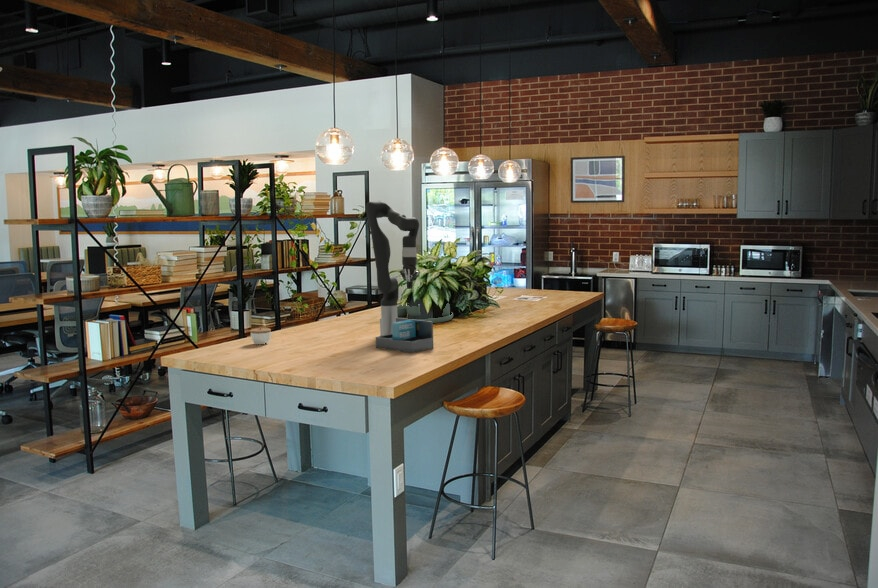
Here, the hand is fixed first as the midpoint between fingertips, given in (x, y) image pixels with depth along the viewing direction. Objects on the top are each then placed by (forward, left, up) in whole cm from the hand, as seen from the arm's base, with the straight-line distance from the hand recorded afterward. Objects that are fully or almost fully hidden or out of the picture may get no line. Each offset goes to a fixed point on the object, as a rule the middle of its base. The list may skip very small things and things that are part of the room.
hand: (409, 288), depth 368 cm
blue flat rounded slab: (+8, -14, -27) cm, 31 cm away
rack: (+8, -14, -29) cm, 33 cm away
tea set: (-49, +63, -29) cm, 85 cm away
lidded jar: (-65, -49, -29) cm, 86 cm away
